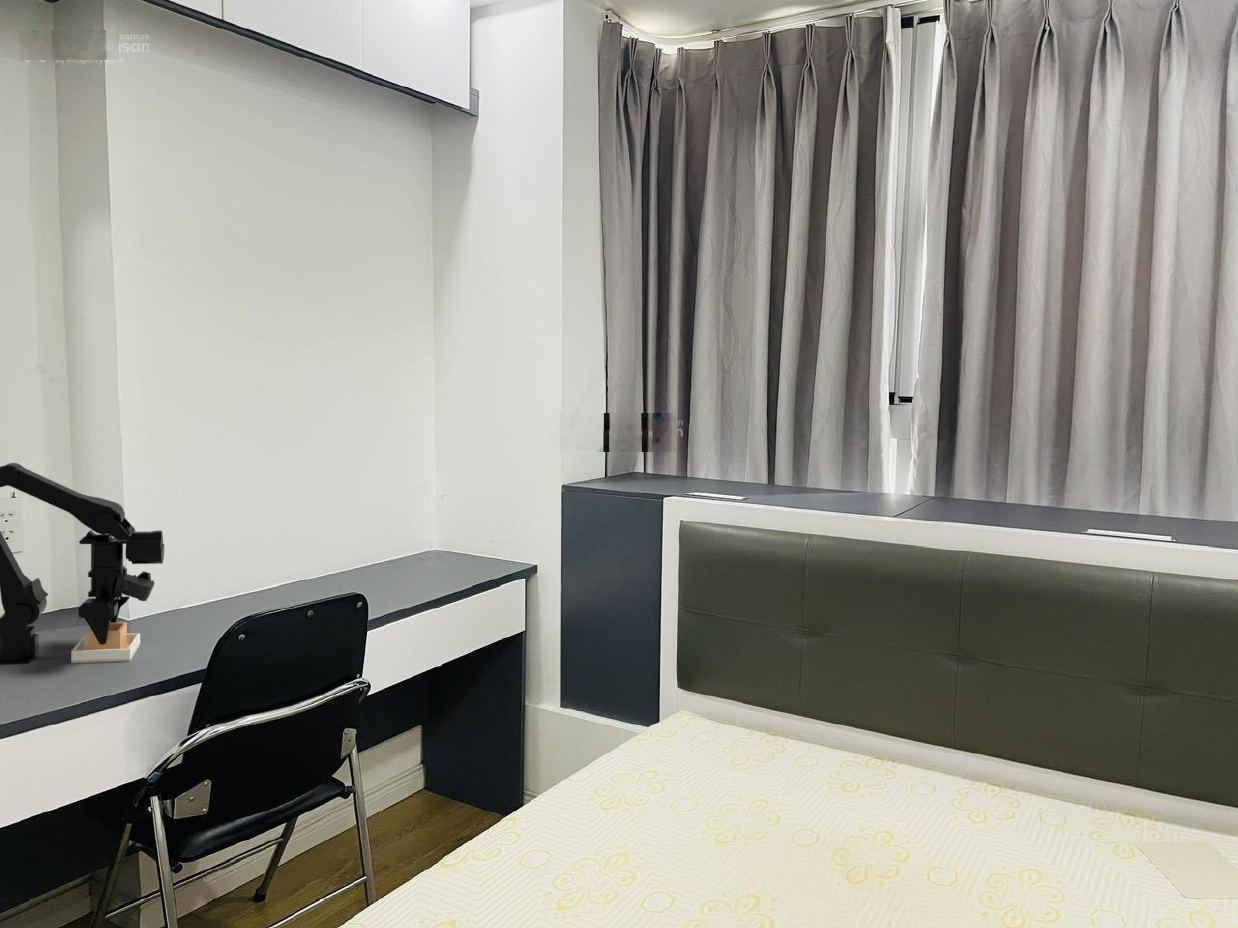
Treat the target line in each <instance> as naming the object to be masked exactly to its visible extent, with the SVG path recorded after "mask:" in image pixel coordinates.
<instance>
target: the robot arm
mask: <svg viewBox="0 0 1238 928" xmlns="http://www.w3.org/2000/svg"><path fill="white" fill-rule="evenodd" d="M3 487H11V488H14V489H16V490H17V491H20V492H23V493H25V494H27V495H29V496H31V497H33V498H36V499H38V500H39V501H40V500H41V501H43V502H45V503H47V504H49V505H50V506H51V505H52V506H53V507H56V508H58V509H60V510H62V511H64V512H67V513H69V515H72V516H73V517H74V518H75V519H76V520H78V521H79V522H80V523H81V524H83V525H84V526H85V527H87V528H89V529H90V530H88V531H87V533H86V535H85V536H83V537H82V538H80V540H79V541H78V543H79V544H80V545H90V569H89V571H88V572H87V577H88V578H90V590H89V591H88V592H87V597H88V598H87V599H86V600H85V601H84V602H82V603H81V604H80V605H79V606H78V618H82V619H84V620H85V621H86V623H87V625H88V626H89V629H90V628H91V630H92V631H93V633H94V635H95V637H96V639H97V640H98V642H99V644H106V641H107V637H108V632H109V626H110V623H118V617H119V614H120V612H121V607H122V606H124V605H125V604H126V603H127V602H128V601H129V599H131V598H134V599H136V600H138V601H141V602H147V600H148V599H149V598H150V596H151V593H152V590H153V588H154V587H155V584H156V583H155V580H152V576H151V575H152V574H151V573H150V572H148V571H142V572H140V573H139V574H138V575H136V574H133V575H132V574H128V570H127V569H128V568H127V567H126V565H125V566H124V544H125V560H127V561H128V562H131V564H132V565H154V564H155V565H157V564H158V565H159V564H160V565H161V564H162V565H163V564H164V558H165V543H164V536H163V531H162V530H153V531H136V528H135V527H134V526H133V525H132V524H131V522H129V521H128V519H127V518H126V515H125V514H126V513H125V510H124V508H123V507H122V505H120V503H117V502H115V501H111V500H108V499H105V498H100V497H97V496H91V495H86V494H83V493H79V492H77V491H76V490H74V489H71V488H68V487H67V486H65V485H62V484H60V483H58V482H56V481H54V480H51V479H50V478H47V477H45V476H43V475H40V474H38V473H36V472H35V471H32V470H31V469H30V470H29V469H27V468H26V467H24V466H22V464H20V463H17V462H10V463H7V464H4V465H1V466H0V488H3ZM123 595H124V596H123ZM48 596H49V593H48V592H46V591H45V590H44V587H43V586H42V583H41V580H40V578H39V577H36V578H35V579H33V580H31V579H30V578H28V576H27V575H25V574H24V573H23V571H22V569H21V567H20V565H19V564H18V561H17V559H16V557H15V556H14V554H13V552H12V550H11V548H10V547H9V544H8V542H7V541H6V539H5V537H4V535H3V534H2V532H1V530H0V601H1V604H2V608H3V613H2V615H1V616H0V665H24V664H30V663H31V662H32V661H33V660H34V659H35V658H36V656H37V655H39V654H40V653H39V650H40V649H39V644H40V643H39V634H38V633H36V625H34V626H33V625H32V624H33V623H35V622H36V621H37V619H39V617H40V616H41V615H42V614H43V613H44V611H45V609H46V608H47V604H48V601H47V597H48ZM130 597H131V598H130Z"/></svg>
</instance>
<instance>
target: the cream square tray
mask: <svg viewBox="0 0 1238 928" xmlns="http://www.w3.org/2000/svg"><path fill="white" fill-rule="evenodd" d="M140 646H141V633H127V646H126V647H125V649H103V650H87V634H84V635H83V637H82V638H81V639H80V640H79V641H78V642H77V644H76V645H75V646H74V647H73V649H72V650H71V654H70V657H71V662H70V663H71V664H91V663H92V664H95V663H96V664H97V663H121V662H122V663H123V662H131V661H132V659H133V657H134V656H135V654H136V653H137V651H138V649H139V648H140Z"/></svg>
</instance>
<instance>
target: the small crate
mask: <svg viewBox="0 0 1238 928" xmlns="http://www.w3.org/2000/svg"><path fill="white" fill-rule="evenodd" d="M127 625H128V623H127V622H126V621H122V622H121V621H120V622H116V623H110V626H109V632H108V637H107V641H106V644H99V642H98V640H97V639H96V637H95V635H94V633H93V631H92V630H91V628H90V627H89V628H88V630H87V631H86V635H87V650H103V649H125V647H126V646H127V634H128V633H127V631H128V630H127V629H128V628H127V627H128V626H127Z"/></svg>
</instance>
